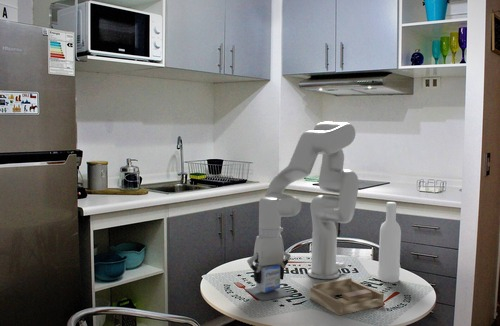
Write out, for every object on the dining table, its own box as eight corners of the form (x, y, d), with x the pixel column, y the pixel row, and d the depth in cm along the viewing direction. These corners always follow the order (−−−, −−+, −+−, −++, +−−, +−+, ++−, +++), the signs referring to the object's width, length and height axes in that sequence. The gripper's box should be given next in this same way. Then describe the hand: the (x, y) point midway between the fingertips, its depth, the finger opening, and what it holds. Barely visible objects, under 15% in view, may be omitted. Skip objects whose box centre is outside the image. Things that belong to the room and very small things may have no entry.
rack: (352, 290, 181) (352, 277, 181) (383, 305, 167) (383, 290, 167) (310, 299, 172) (310, 284, 172) (339, 315, 159) (339, 300, 158)
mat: (274, 285, 186) (274, 284, 186) (292, 295, 175) (292, 294, 175) (245, 290, 180) (245, 289, 180) (262, 301, 170) (262, 300, 170)
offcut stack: (367, 301, 171) (368, 288, 170) (375, 305, 168) (375, 291, 167) (334, 308, 164) (335, 295, 164) (341, 312, 161) (342, 298, 160)
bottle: (391, 284, 189) (394, 205, 186) (373, 279, 194) (376, 202, 192) (403, 280, 194) (406, 203, 191) (385, 274, 200) (388, 200, 197)
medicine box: (264, 293, 174) (265, 268, 173) (255, 289, 177) (256, 265, 176) (280, 287, 179) (280, 264, 178) (271, 284, 182) (271, 261, 182)
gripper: (284, 227, 183) (284, 274, 185) (242, 232, 175) (242, 281, 177) (296, 232, 177) (295, 280, 178) (253, 237, 168) (252, 287, 170)
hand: (269, 280), depth 177 cm, fingers closed on medicine box, 8 cm apart
